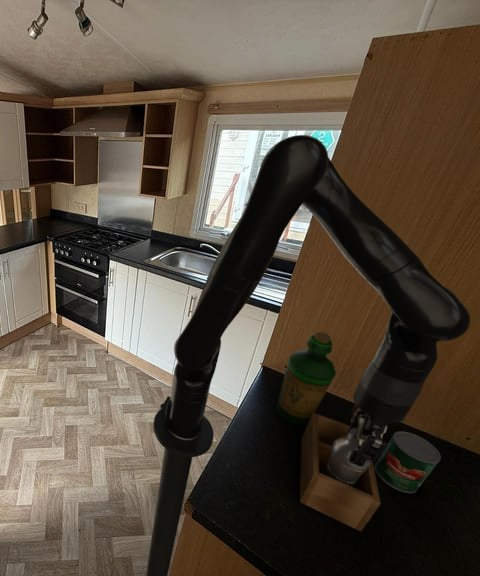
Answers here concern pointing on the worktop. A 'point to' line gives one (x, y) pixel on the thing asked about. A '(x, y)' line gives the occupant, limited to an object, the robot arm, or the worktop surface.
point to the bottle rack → (329, 492)
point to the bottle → (306, 380)
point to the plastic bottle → (344, 460)
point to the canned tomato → (407, 461)
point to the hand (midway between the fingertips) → (353, 450)
